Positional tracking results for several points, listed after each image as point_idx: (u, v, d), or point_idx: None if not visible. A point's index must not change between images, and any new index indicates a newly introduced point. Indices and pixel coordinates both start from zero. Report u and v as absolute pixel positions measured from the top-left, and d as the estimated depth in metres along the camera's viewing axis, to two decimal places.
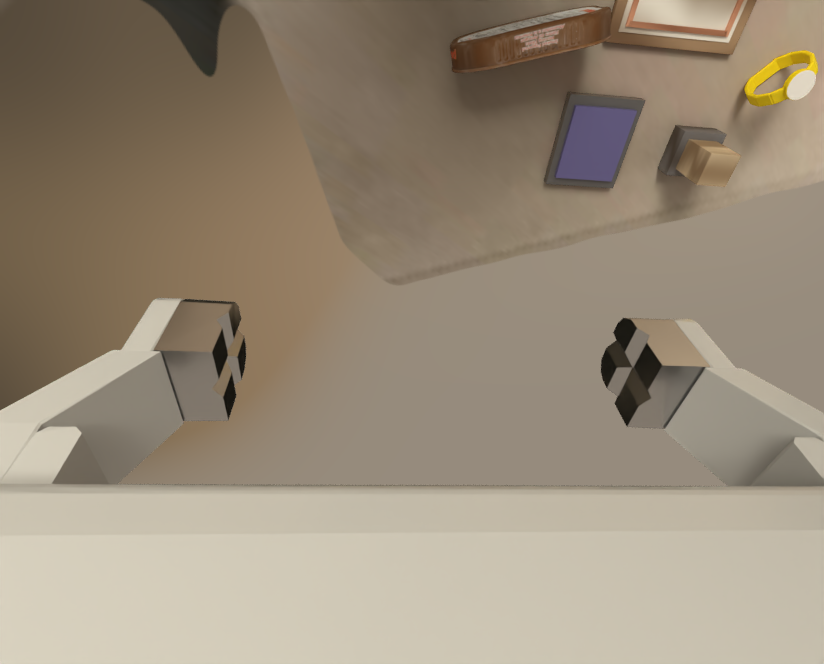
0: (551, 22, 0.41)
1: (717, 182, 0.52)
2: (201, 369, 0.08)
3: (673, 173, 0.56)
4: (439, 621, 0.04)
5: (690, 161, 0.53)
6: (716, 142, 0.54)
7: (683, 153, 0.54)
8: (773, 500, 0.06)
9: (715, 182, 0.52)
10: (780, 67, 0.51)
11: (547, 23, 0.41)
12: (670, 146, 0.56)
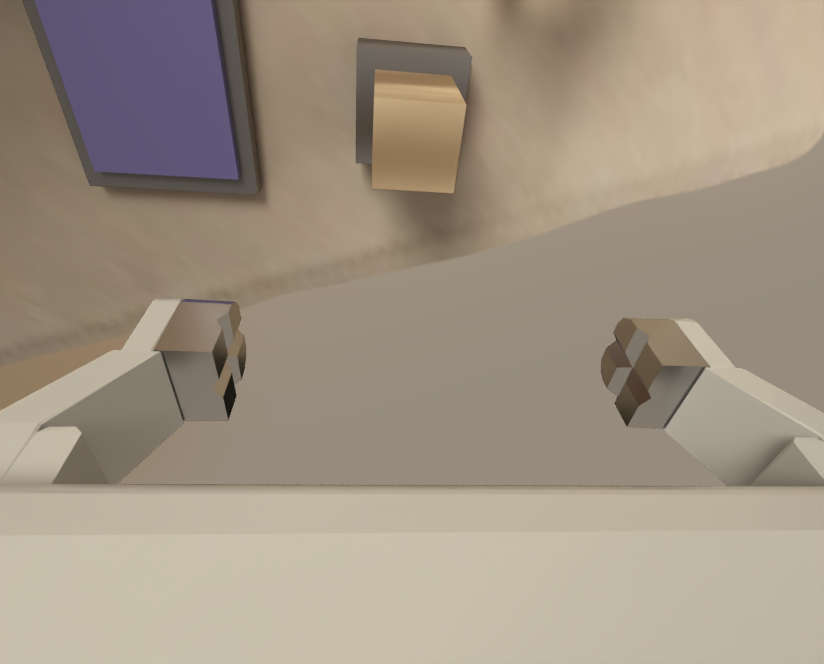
0: None
1: (427, 182, 0.19)
2: (201, 369, 0.08)
3: (372, 159, 0.23)
4: (439, 621, 0.04)
5: None
6: (444, 77, 0.21)
7: (373, 109, 0.22)
8: (775, 502, 0.06)
9: (421, 183, 0.19)
10: None
11: None
12: None
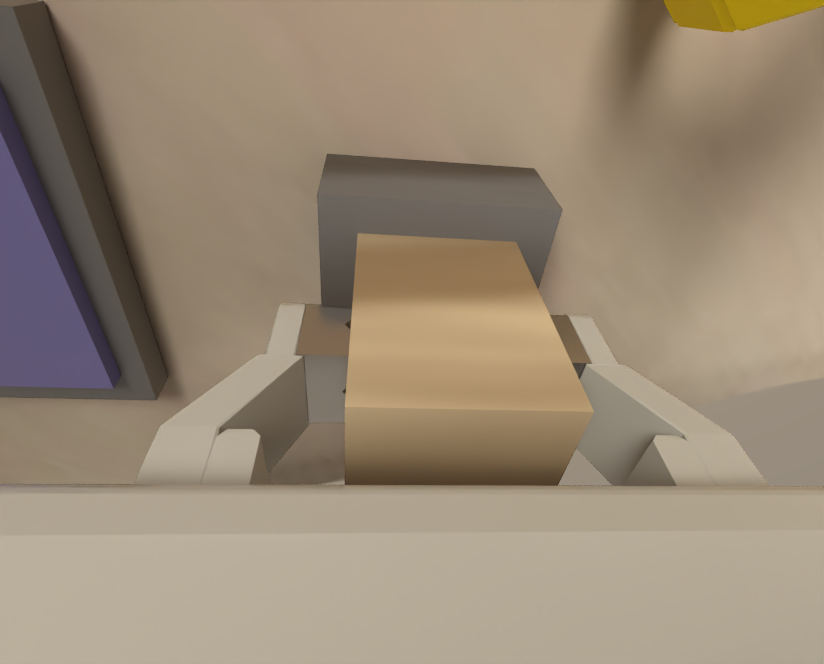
0: None
1: None
2: (337, 372, 0.08)
3: None
4: (439, 621, 0.04)
5: None
6: (505, 253, 0.10)
7: None
8: (775, 502, 0.06)
9: None
10: None
11: None
12: None
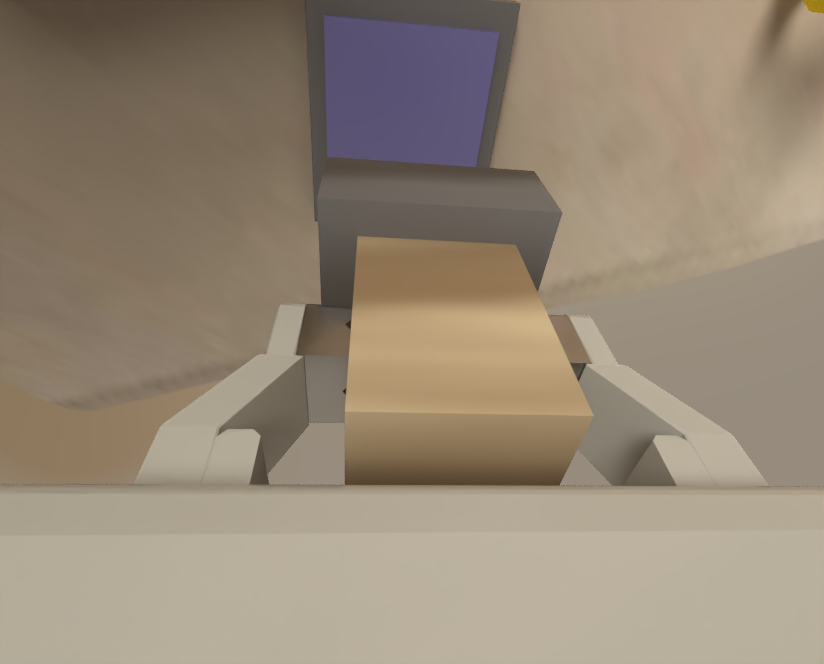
0: None
1: None
2: (337, 373, 0.08)
3: None
4: (439, 620, 0.04)
5: None
6: (505, 256, 0.10)
7: None
8: (774, 502, 0.06)
9: None
10: None
11: None
12: None
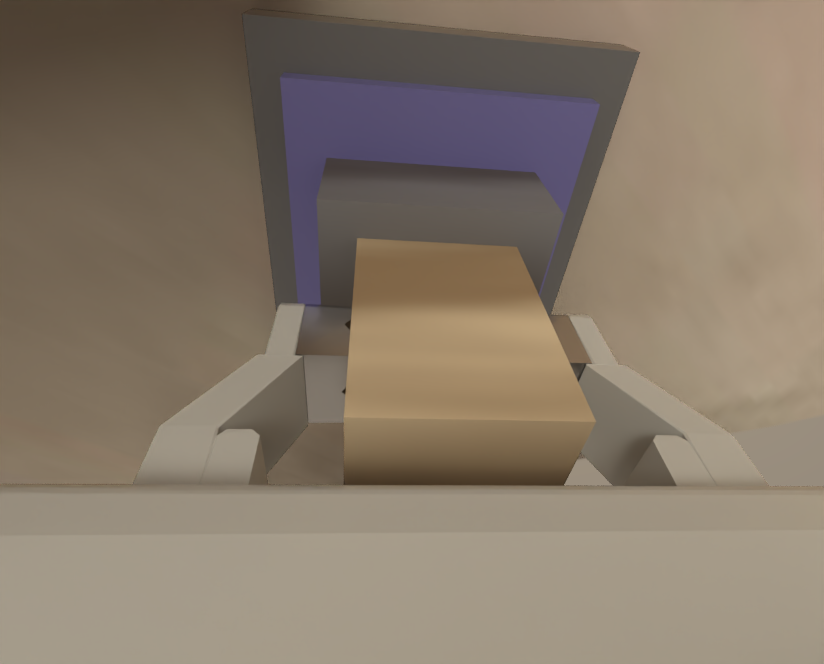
0: None
1: None
2: (336, 373, 0.08)
3: None
4: (439, 620, 0.04)
5: None
6: (506, 258, 0.10)
7: None
8: (774, 500, 0.06)
9: None
10: None
11: None
12: None
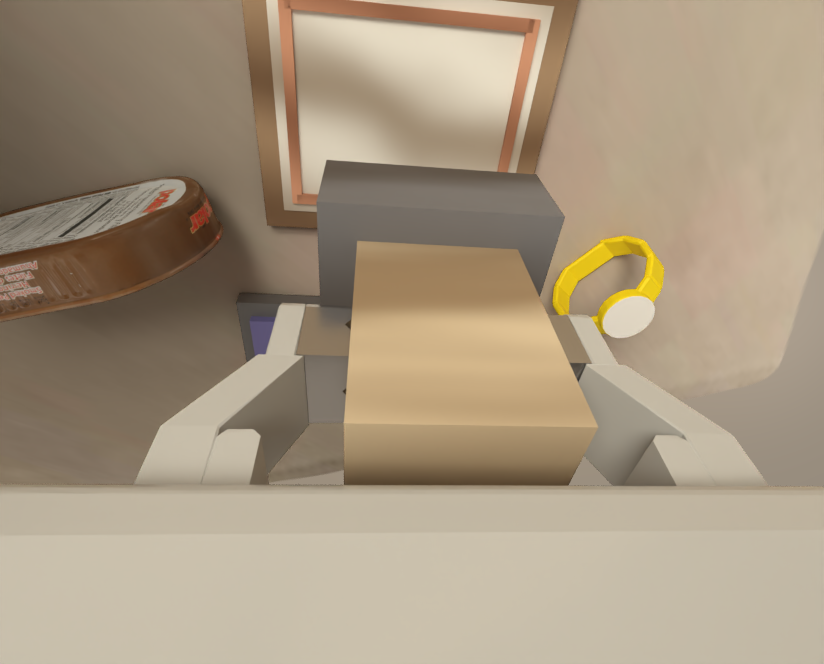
0: (7, 257, 0.18)
1: None
2: (337, 373, 0.08)
3: None
4: (439, 621, 0.04)
5: None
6: (507, 261, 0.10)
7: None
8: (775, 502, 0.06)
9: None
10: (614, 254, 0.28)
11: None
12: None
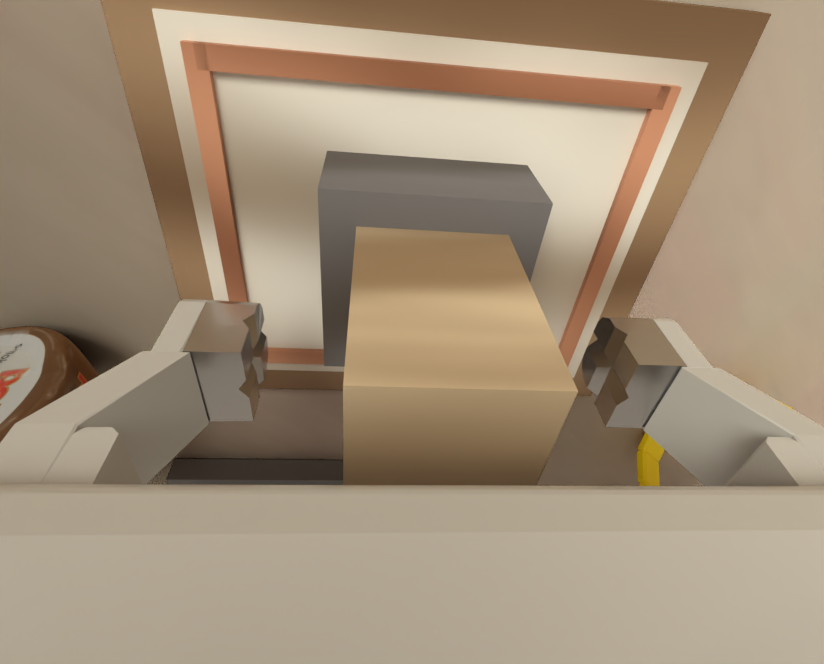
0: None
1: None
2: (229, 370, 0.08)
3: None
4: (439, 621, 0.04)
5: None
6: (498, 245, 0.10)
7: None
8: (774, 502, 0.06)
9: None
10: None
11: None
12: None
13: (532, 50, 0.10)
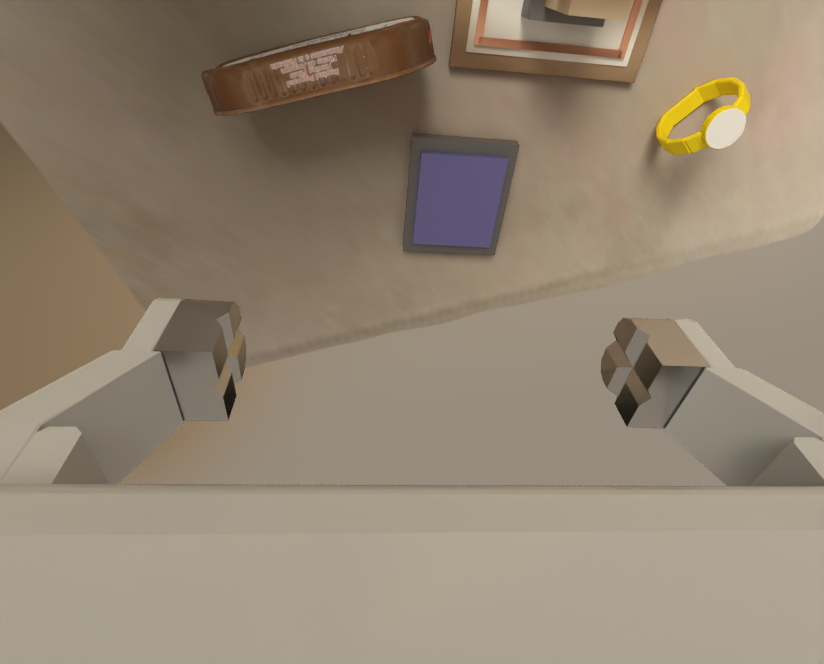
0: (323, 43, 0.27)
1: (608, 10, 0.26)
2: (201, 369, 0.08)
3: (542, 16, 0.30)
4: (439, 620, 0.04)
5: None
6: None
7: None
8: (775, 502, 0.06)
9: (604, 11, 0.26)
10: (704, 99, 0.37)
11: (317, 45, 0.27)
12: None
13: None
